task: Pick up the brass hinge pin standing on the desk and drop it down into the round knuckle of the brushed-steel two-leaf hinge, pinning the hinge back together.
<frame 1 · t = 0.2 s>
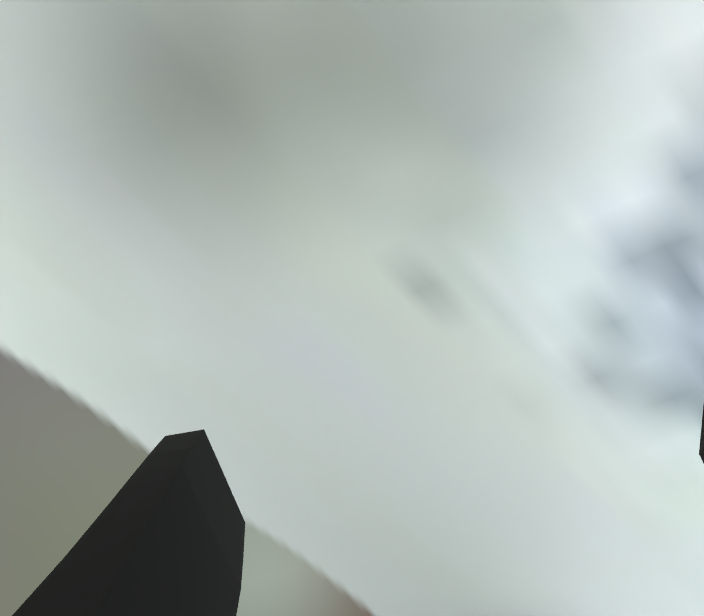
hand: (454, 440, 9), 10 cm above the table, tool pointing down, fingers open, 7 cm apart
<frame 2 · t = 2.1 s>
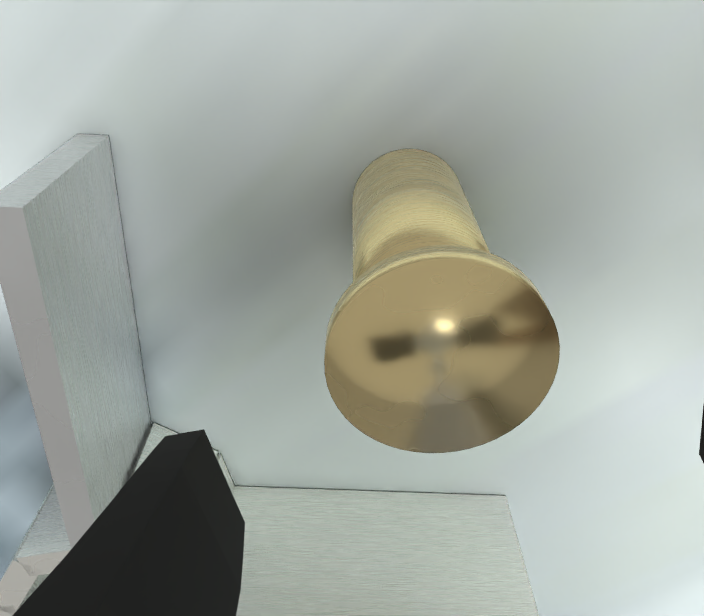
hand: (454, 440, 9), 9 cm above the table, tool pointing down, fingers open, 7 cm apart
steel hinge: (149, 491, 23), on the table
hinge pin: (406, 202, 17), on the table
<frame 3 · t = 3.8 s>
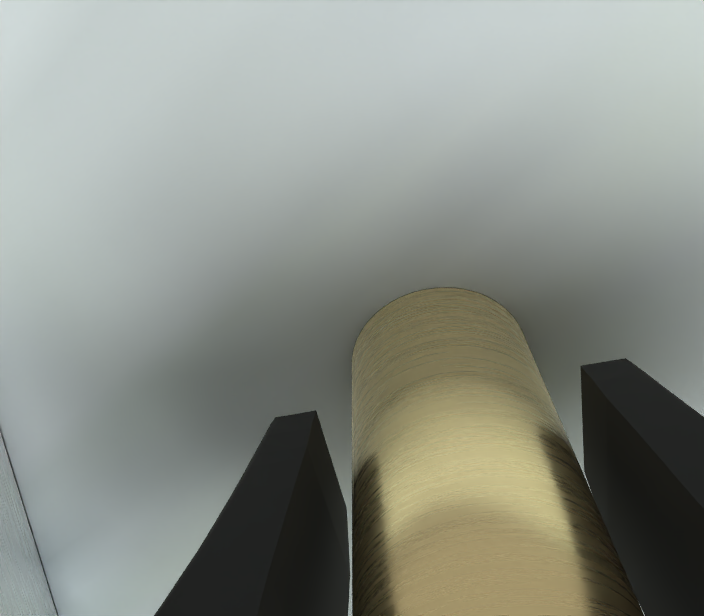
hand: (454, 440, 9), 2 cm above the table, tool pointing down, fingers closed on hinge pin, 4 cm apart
hinge pin: (438, 363, 11), on the table, touching gripper
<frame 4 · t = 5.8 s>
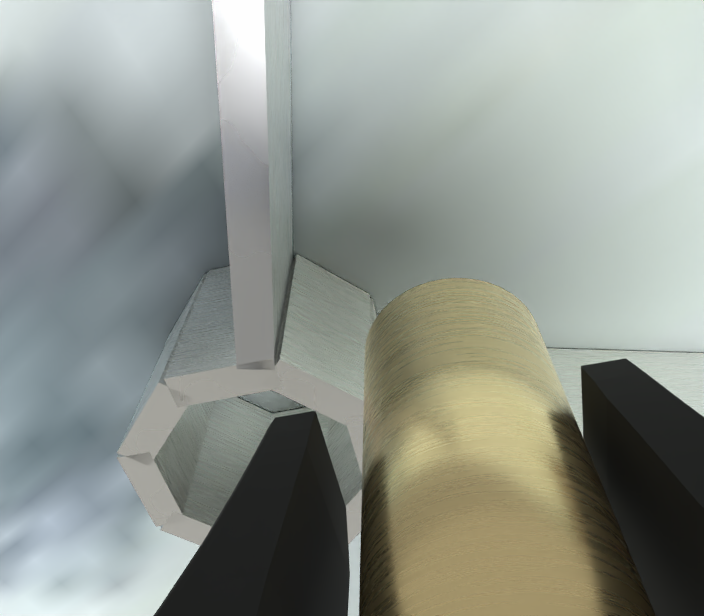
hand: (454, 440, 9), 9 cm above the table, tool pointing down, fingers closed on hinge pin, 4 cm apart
steel hinge: (280, 350, 19), on the table
hinge pin: (451, 354, 11), point 7 cm above the table, touching gripper
when the fingers open (8 cm above the table, at t = 7.7 s): hinge pin drops 6 cm, resting in steel hinge.
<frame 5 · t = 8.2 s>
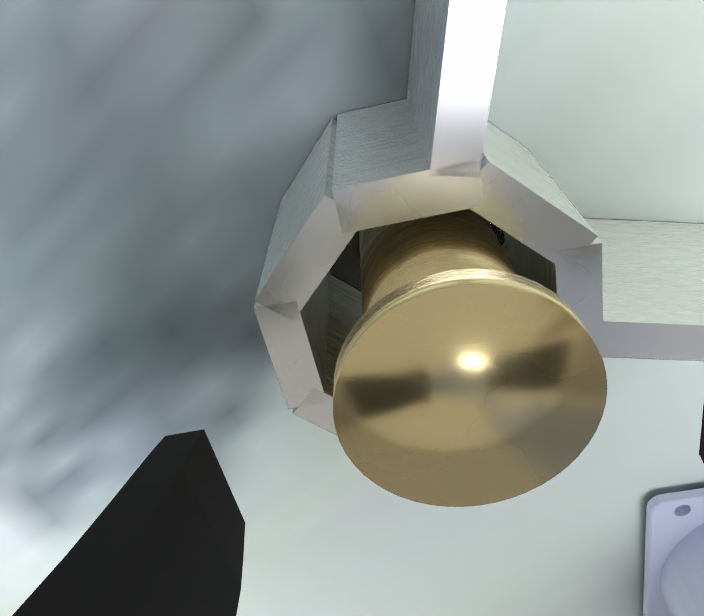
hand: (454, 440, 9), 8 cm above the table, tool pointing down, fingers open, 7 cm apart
steel hinge: (410, 225, 16), on the table
hinge pin: (417, 219, 16), resting in steel hinge
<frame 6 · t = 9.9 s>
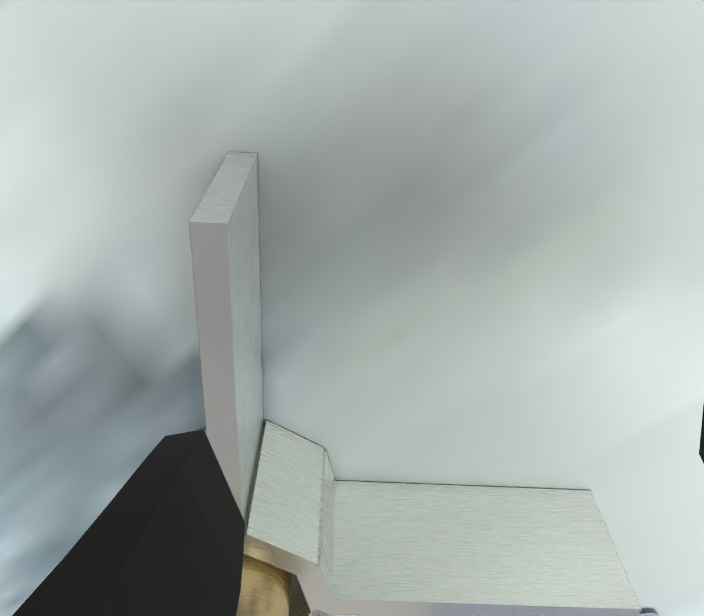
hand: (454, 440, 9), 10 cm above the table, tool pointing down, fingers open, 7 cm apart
steel hinge: (254, 485, 24), on the table
hinge pin: (258, 482, 24), resting in steel hinge
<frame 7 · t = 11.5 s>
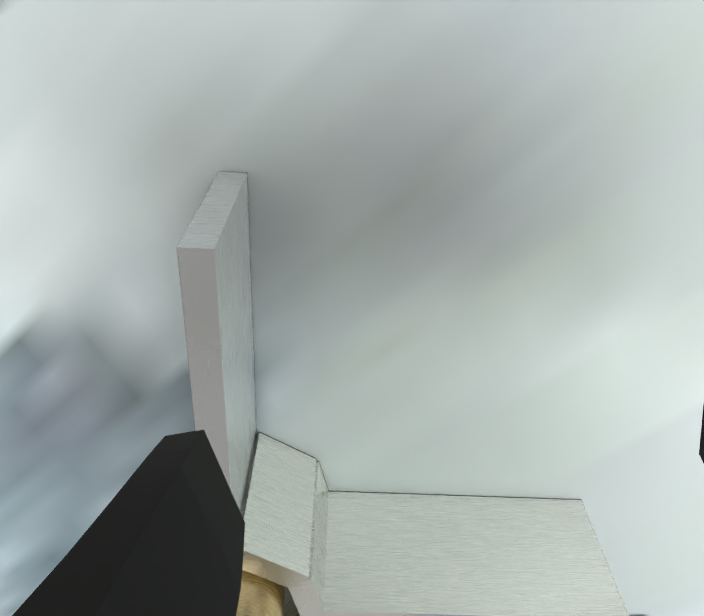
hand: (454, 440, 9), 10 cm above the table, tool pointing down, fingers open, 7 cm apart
steel hinge: (248, 496, 25), on the table
hinge pin: (252, 493, 24), resting in steel hinge
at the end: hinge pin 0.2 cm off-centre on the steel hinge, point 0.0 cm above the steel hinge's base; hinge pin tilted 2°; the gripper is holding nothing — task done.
